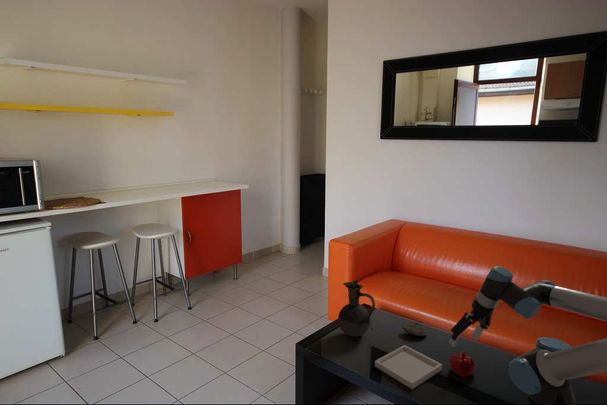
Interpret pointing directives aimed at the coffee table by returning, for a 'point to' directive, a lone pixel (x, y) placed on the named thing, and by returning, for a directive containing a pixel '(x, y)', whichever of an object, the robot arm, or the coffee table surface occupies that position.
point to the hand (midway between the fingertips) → (463, 341)
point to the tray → (408, 366)
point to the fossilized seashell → (415, 329)
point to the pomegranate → (462, 364)
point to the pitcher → (355, 313)
